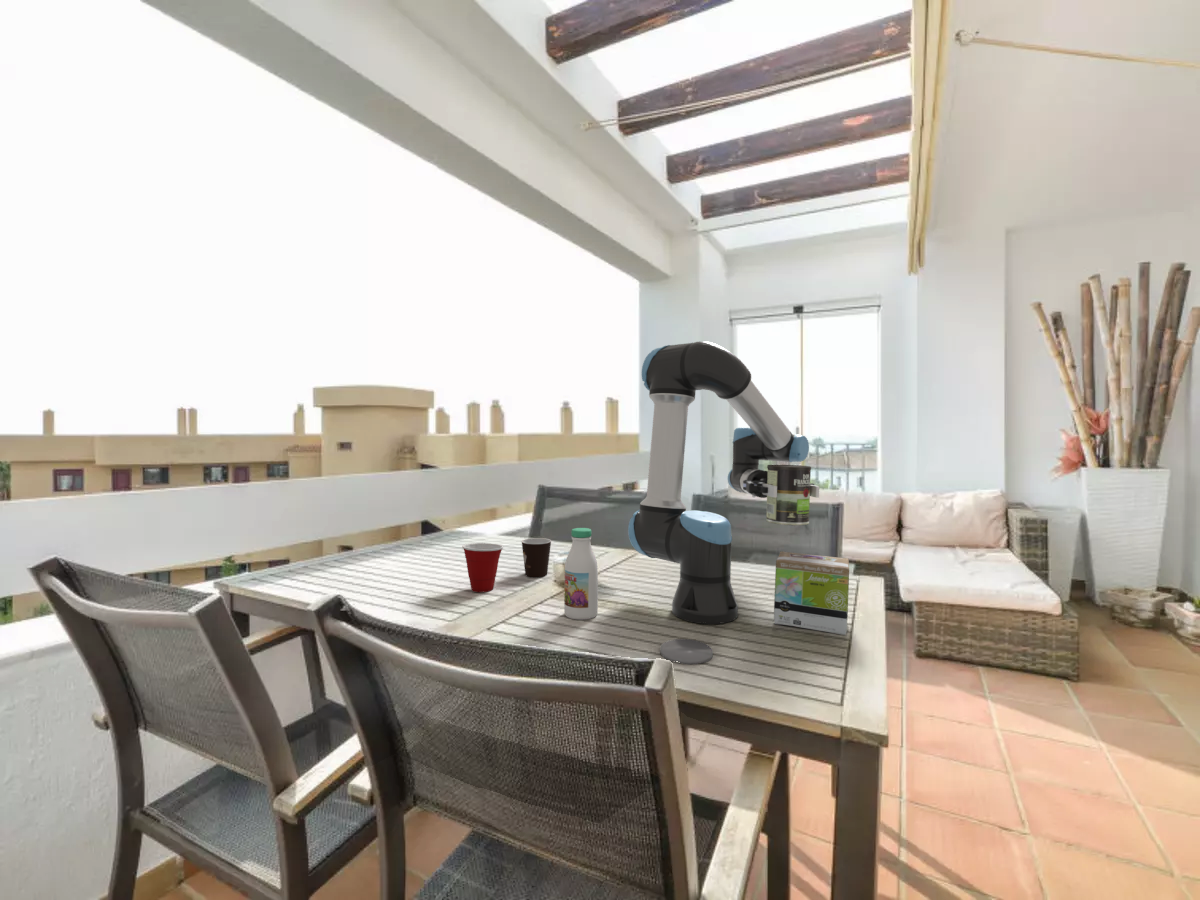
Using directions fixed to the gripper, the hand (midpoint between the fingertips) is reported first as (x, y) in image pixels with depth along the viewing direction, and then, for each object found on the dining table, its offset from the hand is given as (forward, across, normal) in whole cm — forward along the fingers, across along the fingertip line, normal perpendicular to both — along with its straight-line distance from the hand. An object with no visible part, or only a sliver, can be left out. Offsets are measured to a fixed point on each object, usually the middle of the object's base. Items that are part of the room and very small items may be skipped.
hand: (796, 491), depth 131 cm
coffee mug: (-38, +61, -29) cm, 78 cm away
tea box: (+10, +1, -29) cm, 30 cm away
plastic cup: (-24, +76, -29) cm, 85 cm away
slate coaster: (+23, +33, -29) cm, 49 cm away
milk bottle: (-1, +52, -29) cm, 59 cm away
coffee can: (-4, 0, -8) cm, 9 cm away
